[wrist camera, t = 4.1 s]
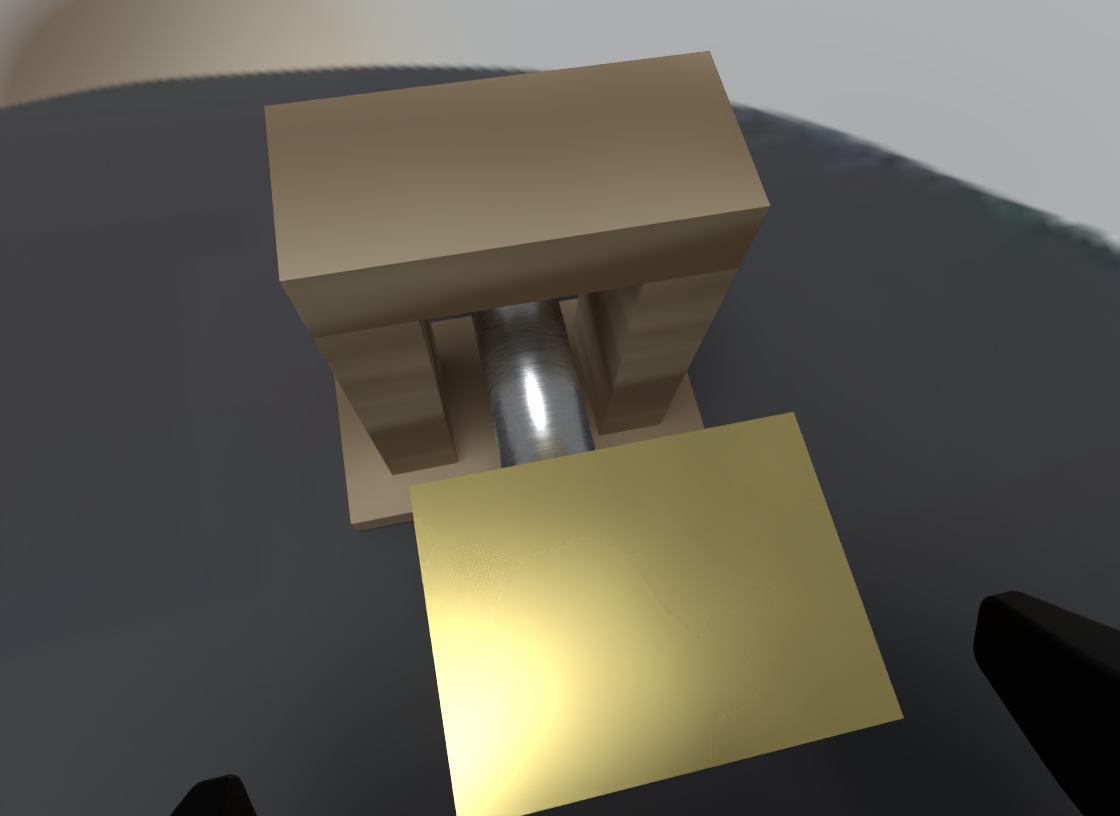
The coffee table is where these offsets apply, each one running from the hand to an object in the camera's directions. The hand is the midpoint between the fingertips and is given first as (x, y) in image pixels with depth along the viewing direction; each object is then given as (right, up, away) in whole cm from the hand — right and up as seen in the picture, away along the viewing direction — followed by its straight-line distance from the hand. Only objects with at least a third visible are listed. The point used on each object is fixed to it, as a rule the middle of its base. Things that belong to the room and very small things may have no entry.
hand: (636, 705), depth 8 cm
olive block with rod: (-2, +2, +10) cm, 11 cm away
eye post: (-2, +4, +11) cm, 11 cm away
